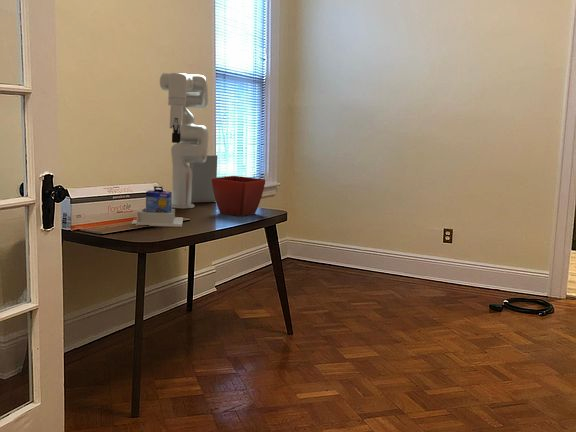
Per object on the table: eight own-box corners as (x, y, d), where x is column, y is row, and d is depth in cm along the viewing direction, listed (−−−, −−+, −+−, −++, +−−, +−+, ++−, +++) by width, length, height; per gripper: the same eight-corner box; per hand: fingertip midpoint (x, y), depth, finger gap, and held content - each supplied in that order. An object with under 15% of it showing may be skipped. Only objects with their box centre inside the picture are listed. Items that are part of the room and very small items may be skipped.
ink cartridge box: (144, 220, 241) (145, 186, 239) (148, 218, 246) (149, 184, 244) (168, 222, 241) (169, 187, 238) (171, 219, 246) (172, 186, 244)
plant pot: (243, 218, 265) (244, 182, 262) (209, 213, 274) (210, 178, 271) (264, 213, 281) (266, 179, 278) (232, 209, 290) (233, 175, 287)
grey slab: (211, 200, 315) (212, 154, 311) (216, 202, 310) (217, 155, 306) (187, 201, 308) (188, 154, 304) (192, 203, 303) (193, 155, 299)
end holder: (136, 218, 250) (136, 207, 249) (183, 219, 253) (183, 208, 252) (131, 225, 235) (131, 213, 234) (181, 226, 238) (182, 214, 237)
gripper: (169, 102, 258) (168, 140, 261) (167, 101, 241) (166, 142, 244) (186, 103, 259) (185, 141, 262) (185, 102, 242) (184, 143, 245)
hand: (176, 142), depth 253 cm, fingers open, 9 cm apart
